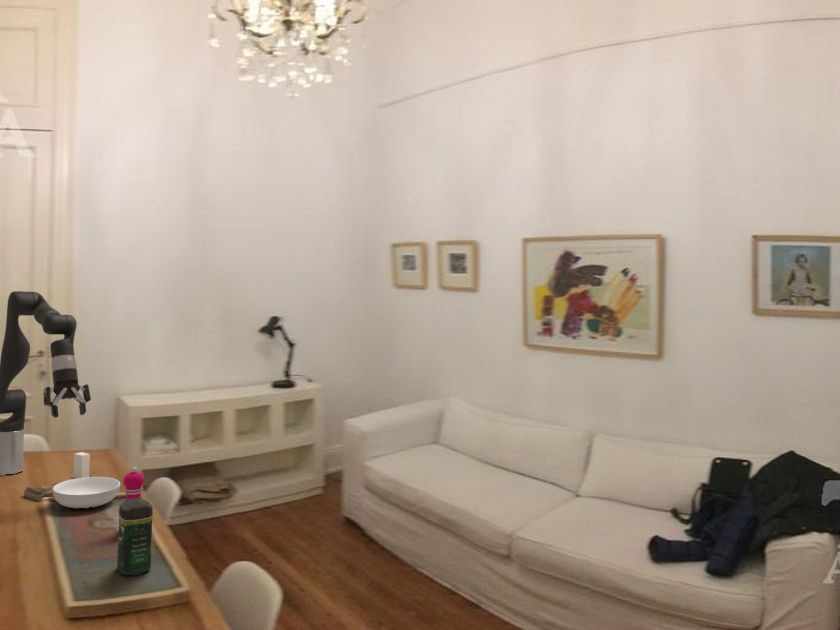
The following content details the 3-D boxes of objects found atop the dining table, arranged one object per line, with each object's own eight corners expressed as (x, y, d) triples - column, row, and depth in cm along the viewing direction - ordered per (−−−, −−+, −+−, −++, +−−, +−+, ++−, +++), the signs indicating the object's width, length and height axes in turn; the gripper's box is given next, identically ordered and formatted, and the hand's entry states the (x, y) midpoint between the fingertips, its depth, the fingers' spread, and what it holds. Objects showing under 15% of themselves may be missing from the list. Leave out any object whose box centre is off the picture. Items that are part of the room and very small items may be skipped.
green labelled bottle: (154, 572, 170) (156, 503, 169) (122, 579, 165) (124, 508, 164) (145, 559, 177) (147, 493, 177) (114, 566, 173) (116, 498, 172)
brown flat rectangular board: (83, 482, 246) (83, 473, 246) (99, 486, 241) (99, 478, 240) (24, 496, 227) (24, 487, 227) (39, 501, 222) (39, 492, 222)
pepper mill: (135, 536, 194) (137, 471, 194) (114, 533, 195) (116, 469, 195) (149, 528, 201) (151, 465, 201) (129, 525, 203) (131, 463, 202)
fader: (82, 477, 243) (82, 451, 243) (91, 480, 240) (92, 454, 240) (70, 480, 239) (71, 453, 239) (80, 483, 236) (81, 456, 236)
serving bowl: (50, 518, 207) (51, 497, 206) (53, 498, 225) (54, 479, 225) (121, 510, 216) (121, 490, 216) (118, 492, 235) (119, 474, 235)
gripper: (81, 371, 228) (86, 416, 225) (37, 373, 217) (42, 420, 214) (90, 366, 224) (95, 411, 220) (46, 368, 212) (51, 415, 209)
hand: (69, 416), depth 217 cm, fingers open, 8 cm apart
